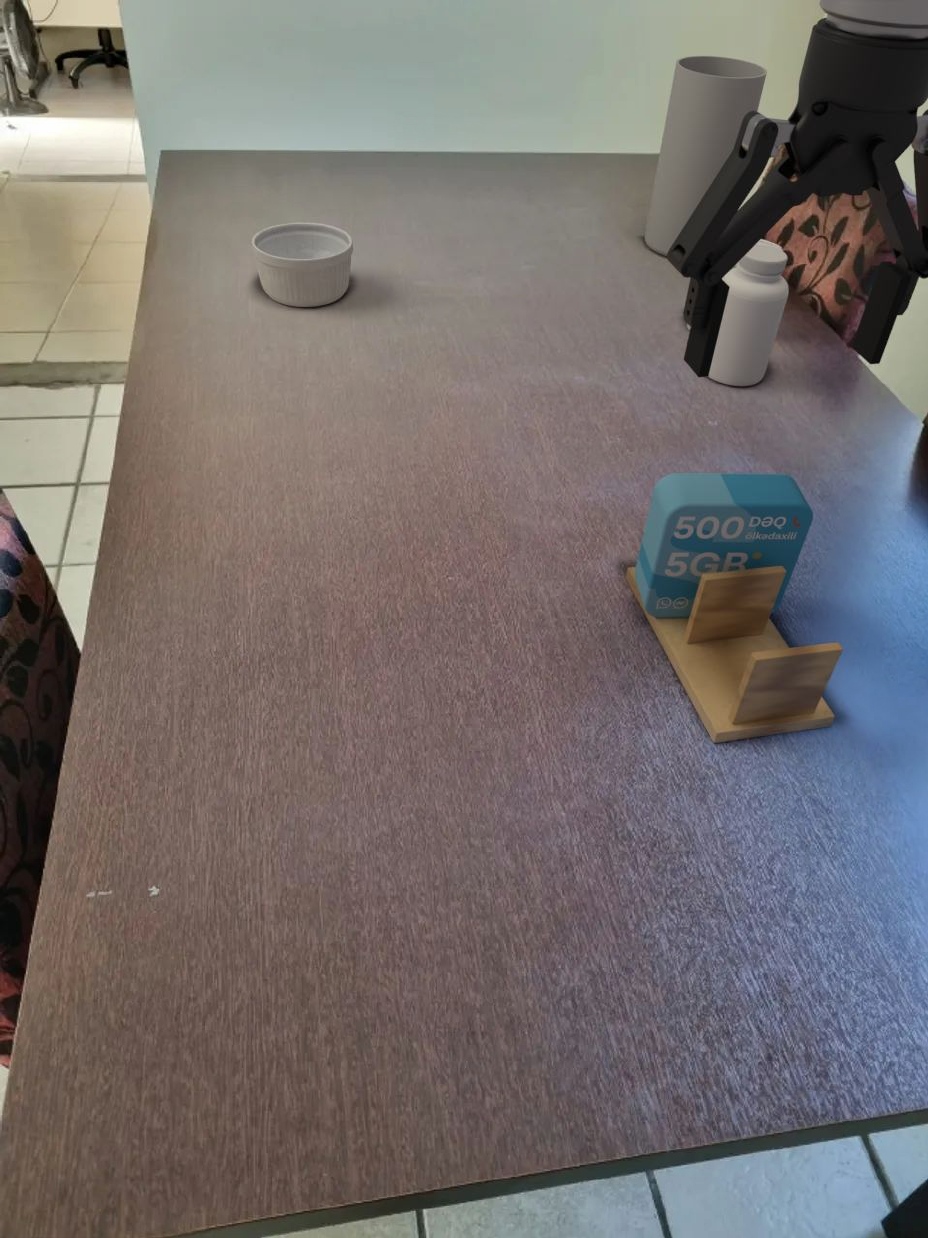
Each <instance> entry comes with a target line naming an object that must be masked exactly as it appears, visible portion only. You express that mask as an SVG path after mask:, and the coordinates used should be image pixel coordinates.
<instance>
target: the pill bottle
mask: <svg viewBox="0 0 928 1238" xmlns="http://www.w3.org/2000/svg"><path fill="white" fill-rule="evenodd" d="M788 260H789V258H788V255H787V254H786V252H784V250H783V251H781V250H779V249H777V248H774V247H771V246H766V245H755V246H754V247H753V248H752V249H751V250H750V251H749V252H748V253H747V254H746V255H745V256H744V257H743V258H742V259H741V260H740V261H739V262H738V263H737V264H736V267H737V268H734V269H732V270H730V271H729V272H728V273H727V274H726V275H725V276H724V277H723V278H722V280H723V281H724V282H725V283H726V284H727V285H728V286H729V287H730V289H729V293H728V297H727V301H726V305H725V309H724V314H723V318H722V322H721V326H720V330H719V334H718V338H717V343H716V347H715V351H714V355H713V359H712V363H711V368H710V372H709V376H708V378H709V379H711V380H712V381H714V382H717V383H720V384H724V385H727V386H734V387H748V386H754V385H756V384H758V383H760V382H761V381H762V380H763V378H764V377H765V375H766V371H767V369H768V365H769V361H770V358H771V356H772V355H771V354H772V353H773V352H772V351H773V348H774V344H775V342H776V338H777V336H778V332H779V328H780V324H781V321H782V318H783V315H784V310H785V308H786V304H787V302H788V298H789V284H788V281H787V280H786V279H785V278H784V277H783V276H782V275H783V273H784V271H785V269H786V266H787V262H788Z"/></svg>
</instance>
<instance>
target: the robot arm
mask: <svg viewBox="0 0 928 1238" xmlns="http://www.w3.org/2000/svg"><path fill="white" fill-rule="evenodd" d="M818 5H819V7H820V8H821V10H822V11H823V12H824V13H825V14H827V15H826V17H822V18H821V19H819V20H818V21H817V23H816V24H814V25H813V26H812V28H811V32H810V37H809V40H808V43H807V44H808V45H807V48H806V52H805V56H804V59H803V64H802V68H801V72H800V75H799V80H798V93H797V102H796V105H795V107H794V109H793V110H792V113H791V114H790V116H789V117H788V119H780V118H773V117H767V116H765V115H763V114H762V113H761V112H759V111H750V112H748V113H747V114H746V115H745V116H744V118H743V121H742V124H741V127H740V130H739V133H738V136H737V139H736V143H735V146H734V149H733V151H732V152H731V154H730V155H729V157H728V159H727V160H726V162H725V163H724V165H723V166H722V168H721V169H720V171H719V173H718V174H717V176H716V177H715V179H714V180H713V182H712V184H711V185H710V187H709V188H708V190H707V191H706V193H705V194H704V196H703V198H702V199H701V201H700V202H699V204H698V205H697V207H696V209H695V210H694V212H693V213H692V215H691V216H690V218H689V219H688V221H687V223H686V224H685V226H684V227H683V229H682V230H681V232H680V234H679V235H678V237H677V238H676V240H675V241H674V243H673V244H672V246H671V248H670V249H669V251H668V253H667V256H666V259H667V261H668V262H669V263H670V264H671V265H672V266H673V268H674V269H675V270H676V271H678V273H679V274H680V275H681V276H682V277H684V278H689V284H688V287H687V288H688V289H687V292H686V297H685V302H684V307H683V312H682V314H683V321H685V322H686V325H687V324H688V325H689V326H690V327H691V328H690V330H689V332H688V337H687V342H686V346H685V351H684V354H683V361H684V362H685V363H686V364H687V365H688V367H689V368H690V369H691V370H692V371H693V373H694V374H695V375H696V376H697V378H707V377H708V376H709V372H710V368H711V363H712V359H713V355H714V351H715V347H716V343H717V338H718V334H719V330H720V326H721V322H722V318H723V314H724V309H725V305H726V301H727V297H728V293H729V289H730V287H729V286H728V285H727V284H726V283H725V282H724V281H723V280H722V278H723V277H724V276H725V275H726V274H727V273H728V272H729V271H730V270H731V269H732V268H733V267H734V266H735V265H736V264H737V263H738V262H739V261H740V260H741V259H742V258H743V257H744V256H745V255H746V254H747V253H748V252H749V251H750V250H751V249H752V248H753V247H754V246H755V245H756V244H757V243H758V242H759V240H760V239H763V237H764V236H766V235H767V233H768V232H770V231H771V230H772V229H773V228H774V226H775V225H777V224H778V222H779V221H781V220H782V218H783V217H785V215H786V214H788V212H790V210H792V208H794V207H799V206H800V205H802V204H804V203H805V202H806V201H807V200H808V199H809V197H811V196H812V194H813V195H815V196H817V197H818V198H824V197H828V198H829V197H832V196H835V195H838V194H845V195H848V196H851V197H855V196H863V194H864V192H866V194H867V196H868V199H869V201H870V203H871V206H872V208H873V210H874V213H875V216H876V218H877V221H878V223H879V225H880V228H881V229H882V232H883V235H884V237H885V239H886V242H887V244H888V247H889V249H890V251H891V254H892V256H893V258H894V260H895V263H894V262H892V261H890V260H886V261H880V263H879V266H878V269H877V272H876V275H875V278H874V281H873V283H872V286H871V289H870V292H869V295H868V298H867V301H866V303H865V306H864V309H863V312H862V315H861V318H860V320H859V321H860V322H859V324H858V326H857V330H856V333H855V336H854V339H853V342H852V345H851V349H852V350H853V351H855V352H856V353H857V354H858V355H859V356H860V357H861V358H863V360H865V361H866V363H868V364H869V365H879V364H880V363H881V361H882V358H883V356H884V353H885V350H886V347H887V345H888V343H889V339H890V337H891V334H892V331H893V328H894V326H895V324H896V320H897V318H898V316H903V315H904V314H905V312H906V311H907V309H908V308H909V305H910V303H911V300H912V298H913V295H914V292H915V289H916V286H917V284H918V282H919V279H923V280H925V279H928V108H927V109H926V110H925V111H924V112H923V113H922V115H918V110H919V108H920V107H922V106H923V105H924V104H925V103H926V102H927V100H928V0H819V3H818ZM782 145H784V148H785V150H786V153H785V155H783V157H781V159H779V160H778V162H777V163H776V164H775V165H774V166H773V167H772V168H771V169H770V170H769V171H768V173H767V174H766V176H765V180H764V183H763V184H761V186H759V188H758V189H757V190H756V191H755V192H754V193H753V194H752V195H751V196H750V197H749V198H748V199H747V197H748V196H749V194H750V193H751V192H752V190H753V188H754V186H756V184H757V183H758V181H759V180H760V178H761V176H762V174H763V173H764V171H765V169H766V168H767V166H768V164H769V163H768V162H769V161H770V159H771V158H775V157H777V156H778V154H779V151H780V149H779V148H780V147H781V146H782ZM910 146H911V148H912V149H913V173H914V189H915V201H916V202H915V203H916V216H917V224H916V221H915V218H914V216H913V214H912V211H911V209H910V206H909V203H908V200H907V198H906V195H905V193H904V190H905V189H906V188H905V187H906V186H905V184H904V181H903V178H902V176H901V173H900V170H899V168H898V166H897V163H896V162H897V160H898V159H899V158H900V157H901V156H902V155H903V154H904V153H905V152H906V150H907V149H908V148H909V147H910ZM794 175H795V178H796V179H795V180H794V181H792V180H790V179H791V178H792V177H793V176H794ZM746 199H747V200H746ZM745 200H746V202H745ZM708 378H709V377H708Z"/></svg>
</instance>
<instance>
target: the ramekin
mask: <svg viewBox="0 0 928 1238" xmlns="http://www.w3.org/2000/svg"><path fill="white" fill-rule="evenodd" d="M251 252H252V255H253V256H254V257H255V261H256V267H257V272H258V276H259V281H260V285H261V287H262V289H263V291H264V292H265V294H267V296H268V297H269V298H270V299H271V300H273V301H275V302H276V303H279V304H282V305H285V306H290V307H297V308H313V307H314V308H315V307H321V306H326V305H329V304H331V303H335V302H336V301H338V300H340V299H341V298H342V297H343V296H344V294H345V293H347V290H348V288H349V285H350V279H351V269H352V268H351V267H352V256H353V253H354V243H353V238H352V236H351V235H350V234H349V233H348V232H347V231H345V230H343V229H341V228H340V227H339V228H338V227H336V226H333V225H329V224H324V223H317V222H289V223H282V224H276V225H272V226H269V227H266V228H263V229H261V230H260V231H258V232H256V233H255V234H254V235H253V237H252V239H251Z"/></svg>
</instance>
